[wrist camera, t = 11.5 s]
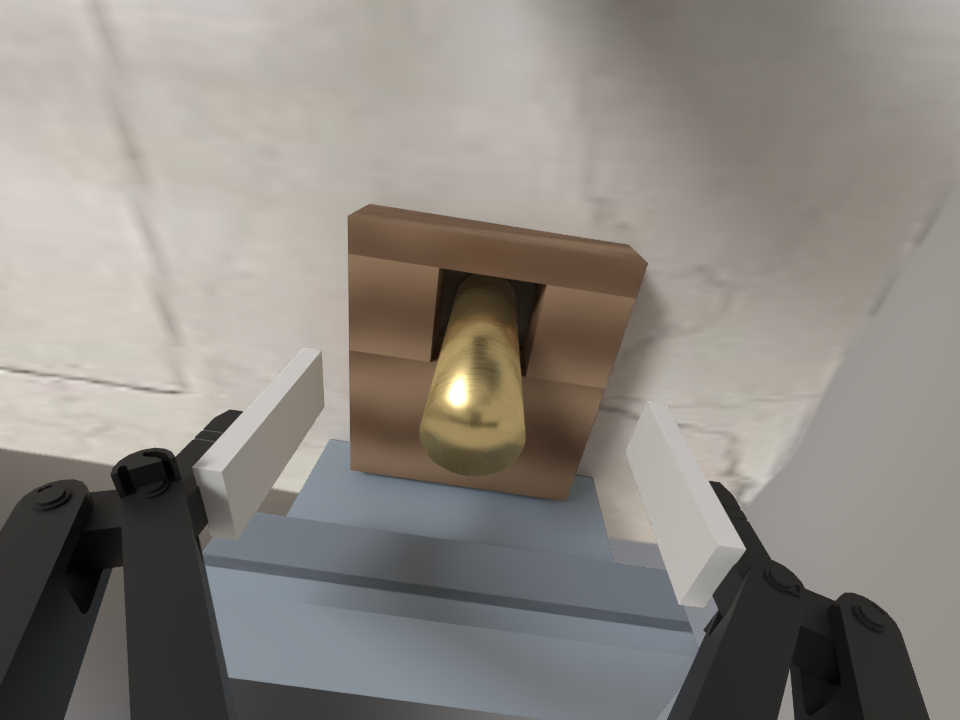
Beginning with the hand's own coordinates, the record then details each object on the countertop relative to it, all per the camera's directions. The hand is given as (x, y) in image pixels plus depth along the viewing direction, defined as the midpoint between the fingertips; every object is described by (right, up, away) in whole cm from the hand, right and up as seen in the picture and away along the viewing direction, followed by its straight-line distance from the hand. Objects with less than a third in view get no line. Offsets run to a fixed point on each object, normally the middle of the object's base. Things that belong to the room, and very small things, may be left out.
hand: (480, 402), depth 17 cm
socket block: (0, +2, +13) cm, 13 cm away
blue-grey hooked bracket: (-1, -4, +17) cm, 17 cm away
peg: (0, +6, +11) cm, 12 cm away
